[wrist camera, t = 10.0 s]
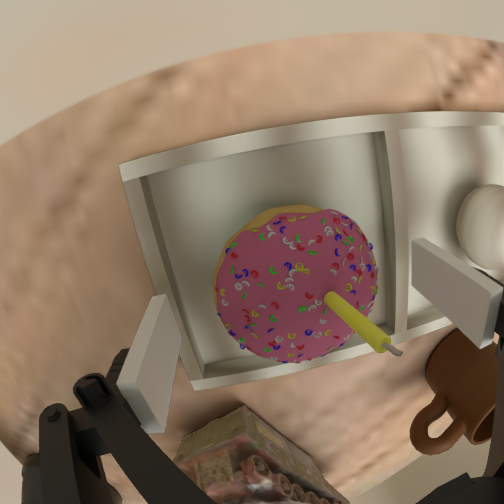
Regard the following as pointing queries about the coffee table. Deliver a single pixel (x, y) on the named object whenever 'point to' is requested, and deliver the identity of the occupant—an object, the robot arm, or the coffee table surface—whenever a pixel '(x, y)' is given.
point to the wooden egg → (483, 226)
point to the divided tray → (317, 195)
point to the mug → (458, 394)
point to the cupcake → (298, 285)
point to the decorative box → (251, 464)
